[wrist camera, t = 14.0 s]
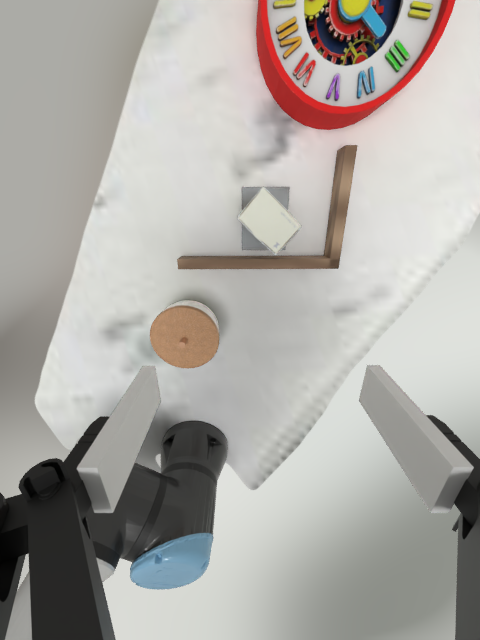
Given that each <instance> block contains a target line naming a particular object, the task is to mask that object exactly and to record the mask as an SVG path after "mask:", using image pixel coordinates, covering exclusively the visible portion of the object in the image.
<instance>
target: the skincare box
mask: <svg viewBox="0 0 480 640" xmlns="http://www.w3.org/2000/svg"><path fill="white" fill-rule="evenodd" d="M237 218H238V220H239V221H240V222H241V223H242V224H243V225H244V226H245V227H246V228H247V229H248V230H249V231H250V232H251V233H252V234H253V235H254V236H255V237H256V238H257V239H258V240H259V241H260V242H261V243H262V244H263V245H264V246H266V247H267V248H268V249H269V250H270V251H271V252H272V253H273V254H274V255H277V254H278V253H279V252H280V251H281V250H282V249H283V247H284V246H285V245H286V244H287V243H288V242H289V241H290V240H291V239H292V238H293V237H294V236H295V234H296V233H297V232H298V231H299V230H300V229H301V227H302V226H301V225H300V224H299V222H298V221H297V220H296V219H295V218H294V217H293V216H292V214H291V213H290V212H289V211H288V210H287V209H286V208H285V207H284V206H283V205H282V204H281V203H280V202H279V201H278V200H277V199H276V198H275V197H274V196H273V195H272V194H271V193H270V192H269V191H268V190H267V189H266V188H265V187H262V188H261V189H260V190H259V192H258V193H257V194H256V195H255V196H254V197H253V198H252V200H251V201H250V202H249V203H248V204H247V206H246V207H245V208H244V209H243V210H242V212H241V213H240V214H239V215H238V217H237Z"/></svg>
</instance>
